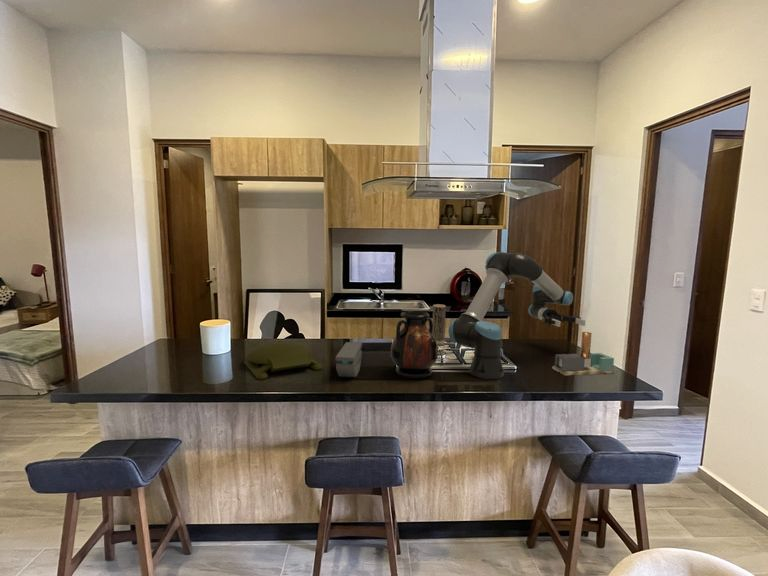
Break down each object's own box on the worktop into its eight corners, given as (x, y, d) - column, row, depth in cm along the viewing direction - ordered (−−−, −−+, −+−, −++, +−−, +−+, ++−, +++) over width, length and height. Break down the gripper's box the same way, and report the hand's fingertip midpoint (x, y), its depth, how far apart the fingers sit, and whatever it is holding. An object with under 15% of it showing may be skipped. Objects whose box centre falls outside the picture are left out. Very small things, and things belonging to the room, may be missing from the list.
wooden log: (443, 348, 231) (445, 304, 227) (444, 351, 224) (446, 306, 221) (431, 347, 231) (433, 304, 228) (432, 351, 224) (433, 306, 221)
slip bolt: (563, 368, 190) (565, 334, 188) (558, 365, 194) (560, 332, 192) (591, 367, 192) (594, 333, 190) (586, 364, 196) (588, 331, 194)
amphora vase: (420, 363, 202) (421, 307, 198) (447, 376, 183) (449, 315, 180) (381, 370, 192) (382, 311, 188) (406, 384, 173) (407, 319, 169)
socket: (601, 370, 191) (602, 358, 190) (588, 364, 200) (589, 353, 199) (613, 370, 192) (614, 358, 191) (599, 364, 201) (600, 352, 200)
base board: (564, 375, 187) (564, 372, 187) (552, 368, 197) (552, 366, 197) (613, 373, 191) (613, 370, 191) (598, 366, 201) (599, 364, 201)
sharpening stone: (353, 382, 175) (353, 357, 173) (335, 381, 175) (335, 357, 174) (361, 364, 199) (362, 342, 198) (345, 363, 200) (346, 342, 199)
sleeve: (562, 371, 189) (563, 358, 188) (554, 367, 195) (555, 354, 194) (583, 370, 191) (584, 357, 190) (575, 366, 197) (576, 353, 196)
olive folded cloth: (325, 370, 191) (324, 350, 190) (258, 381, 175) (257, 359, 174) (299, 352, 221) (299, 334, 219) (240, 360, 205) (239, 341, 204)
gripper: (568, 321, 227) (594, 330, 206) (526, 322, 223) (548, 332, 202) (569, 307, 226) (595, 315, 205) (527, 309, 222) (549, 317, 201)
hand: (572, 323), depth 203 cm, fingers open, 13 cm apart
